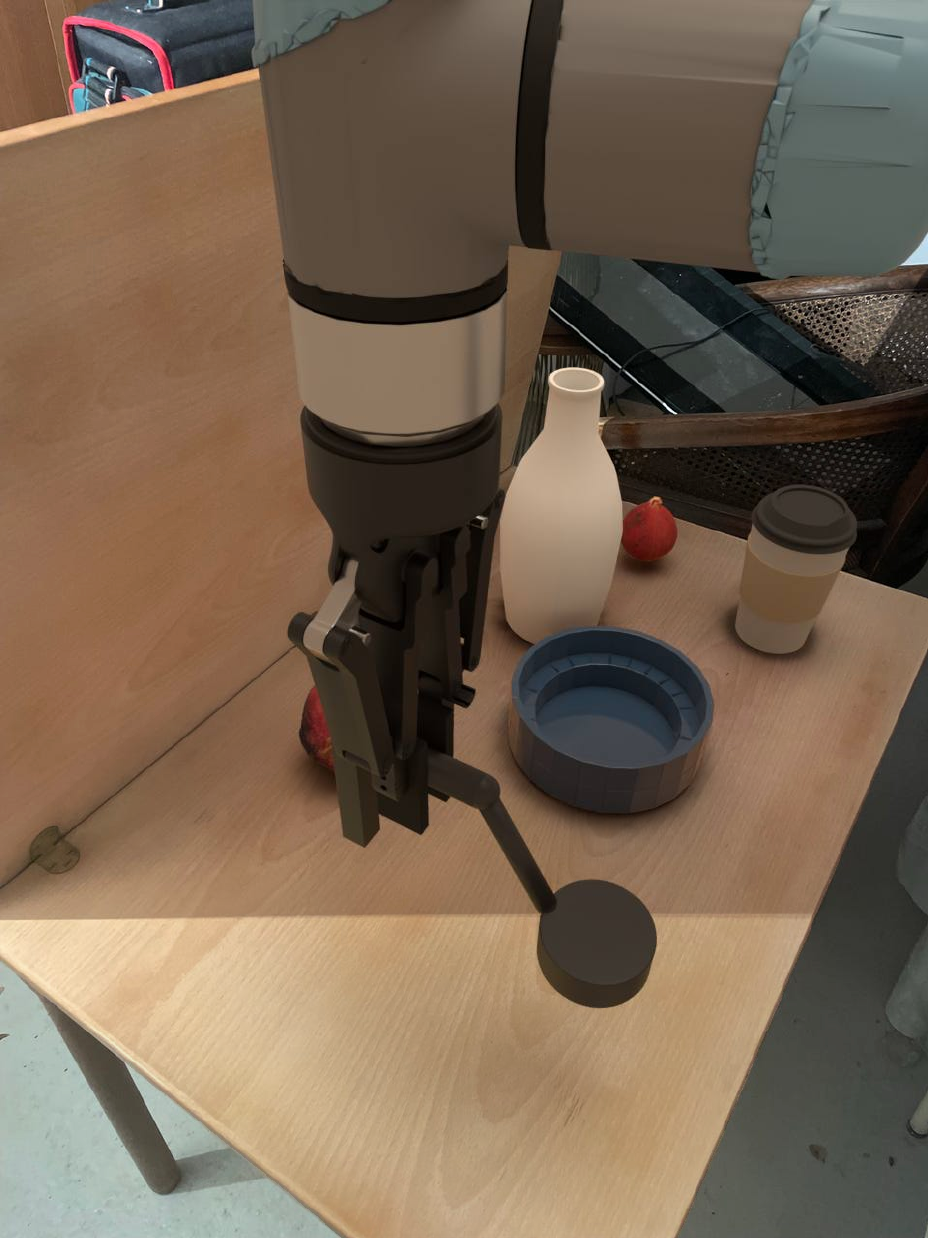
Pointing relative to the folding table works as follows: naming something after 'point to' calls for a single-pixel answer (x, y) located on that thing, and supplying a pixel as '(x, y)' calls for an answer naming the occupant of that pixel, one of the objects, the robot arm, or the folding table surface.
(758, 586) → the coffee cup
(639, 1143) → the folding table surface
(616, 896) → the ladle
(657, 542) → the red pomegranate
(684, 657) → the bowl
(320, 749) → the fruit
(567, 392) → the bottle
